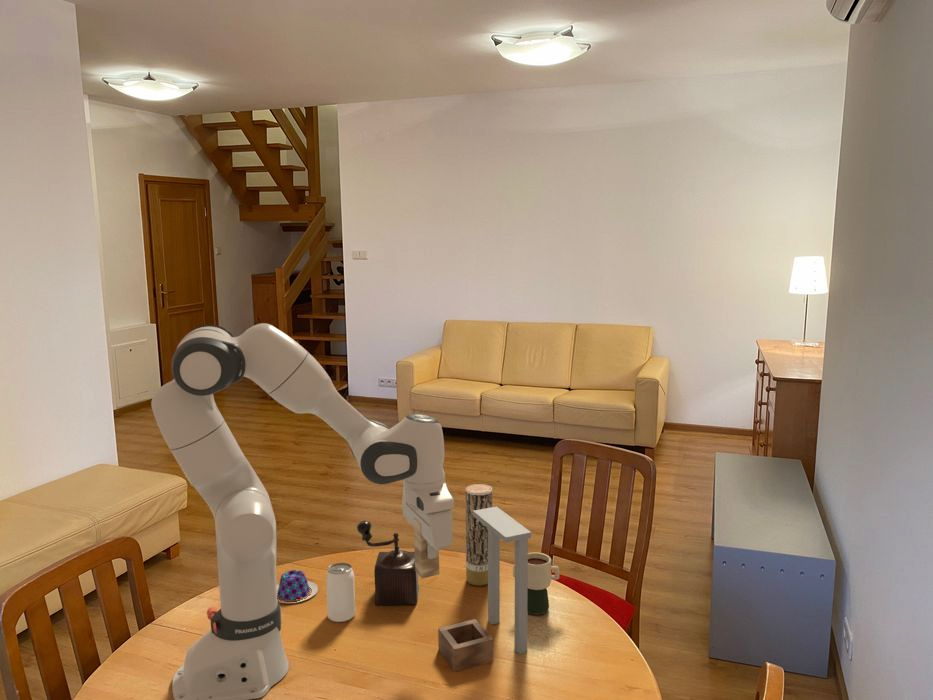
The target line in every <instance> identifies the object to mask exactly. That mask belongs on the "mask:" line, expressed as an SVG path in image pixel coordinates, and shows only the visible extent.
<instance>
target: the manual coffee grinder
mask: <svg viewBox="0 0 933 700" xmlns="http://www.w3.org/2000/svg"><path fill="white" fill-rule="evenodd" d="M372 528H373V526H372V523H371V521H369V520H362V521H360V522H359V523H358V524H357V525H356V530H357V533H359V534H360V535H361V540H362V541H365V544H366V545H367V546H369V547H372V548H373V547H383V546H390V545H391V544H393V543H394V549H393V550H390V551H379V552H378V554H377V558H376V561H375V564H374V572H373V573H374V593H375V594H374V605H375V606H378V607H397V606H398V607H399V606H400V607H402V605H406V606H417V604H418V599H419V593H418V592H419V591H420V586H419V585H420V584H419V574H418V573H417V572H416V571H415V551H406V550H402V549H401V550H400V547H399V540H400V538H399V533H398V532H394V533H393V535H392V536H393V538H392V539H391V540H387V541H380V542H371V539H372V538H373V534H372V533H371V529H372Z"/></svg>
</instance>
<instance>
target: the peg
mask: <svg viewBox="0 0 933 700" xmlns="http://www.w3.org/2000/svg"><path fill="white" fill-rule="evenodd" d="M413 520H414V527H413V543H414V544H413V545H414V552H415V571H416V572H417V573H418V577H420V578H421V579H425V578H431V577H434V576H439V575H440V549H438V550H436V558H433V559H429V558H428V557H427V556H426V549H427V548H428V544H427V541H426V540H425V539H424V538H423V536H422V535H421V524H420V523H419V522H418V521H417V520H416V519H415V518H413Z"/></svg>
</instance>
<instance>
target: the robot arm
mask: <svg viewBox="0 0 933 700" xmlns="http://www.w3.org/2000/svg"><path fill="white" fill-rule="evenodd" d="M170 365H171V366H170V367H171V374H172V376H173V379H172V380H170V381H169V382H166V383H165V384H163V385H162V386H160V387H159V388H158V389H157V390H156V392H155V393H154V394H153V396H152V399H151V403H150V404H151V410H152V414H153V415H154V416H153V417H154V418H155V419H154V420H155V421H156V424H157V427H158V429H159V431H160V433H161V436H162V438H163V441H165V443H166V445H167V447H168V449H169V451H170V452H171V453H172V455H173V457H174V459H175V461H176V462H177V464H178V465H179V468H180V469H181V470H182V471H181V472H183V474H184V475H185V477H186V479H187V481H188V483H189V484H190V485H191V486H192V487H193V488H194V489H195V491H197V492H198V494H199V495H200V497H201V498H202V499H203V500H204V502H205V503H206V505H207V506H208V508H209V509H210V511H211V514H212V515H213V520H214V524H215V540H216V555H217V570H218V571H217V572H218V585H219V586H218V587H219V588H218V589H219V602H220V605H219V606H220V608H219V610H218V609H217V608H216V607H215V606H210V607H209V608H208V609H207V610H206V615H207V616H206V617H207V619H208V620H209V621H210V629H209V630H208V631H206V633H204V634H203V635H202V636H201V637H200V638H199V639H197V640H196V641H195V642H194V643H193V644H191V645H190V647H189V648H188V650H187V652H186V655H185V658H184V662H183V663H184V664H183V665H181V666H180V667H179V668H178V669H177V670H176V672H175V673H174V675H173V677H172V684H171V691H172V697H173V700H253V699H254V700H255V699H260V698H263V697H265V695H266V694H267V693H268V692H269V691H270V689H271V688H272V687H273V686H274V685H276V684H277V683H278V682H280V681H281V680H282V679H283V678H284V677H285V676H286V675H287V673H288V672H289V668H290V662H289V660H288V657H287V654H286V652H285V649H284V648H285V647H284V644H283V640H282V633H281V630H282V610H281V609H282V608H281V603H279V601H278V599H279V598H278V597H277V596H278V594H277V593H278V592H277V585H278V583H277V582H278V581H277V522H276V521H277V520H276V516H275V513H274V509H273V506H272V502H271V498H270V496H269V492H268V491H267V489H266V488H265V486H264V484H263V483H262V481H261V479H260V477H259V476H258V474H257V473H256V471H255V470H254V468H253V467H252V465H251V463H250V462H249V460H248V459H247V457H246V456H245V454H244V453H243V451H242V449H241V447H240V445H239V444H238V441H237V440H236V438H235V436H234V435H233V433H232V431H231V429H230V428H229V426H228V424H227V422H226V420H225V418H224V417H223V415H222V413H221V412H220V410H219V408H218V406H217V403H216V401H215V397H214V394H216V393H219V392H220V391H222V390H224V389H226V388H228V387H230V386H232V385H234V384H236V383H238V382H239V381H241V380H242V379H243V378H247V379H249V380H251V381H252V382H254V383H255V384H256V385H258V386H259V387H260V389H262V390H263V391H264V392H265V393H266V394H268V395H269V396H270V397H271V398H272V399H273V400H274V401H276V402H277V403H278V404H279V405H281V406H283V407H285V408H286V409H288V410H289V411H291V412H293V413H295V414H302V415H303V414H311V415H314V416H316V417H318V418H320V419H321V420H323V422H325V424H327V425H328V426H329V427H331V428H332V429H333V431H335V432H336V433H337V434H338V435H339V436H341V437H342V438H343V439H344V440H345V441H346V442H347V444H348V446H349V449H350V452H351V454H352V457H353V458H354V459H355V460H356V462H357V465H358V467H359V468H360V471H361V472H362V474H363V476H364V477H365V478H366V479H367V480H368V481H370V482H371V483H374V484H375V485H386V484H387V485H388V484H391V483H396V482H399V481H402V483H403V485H402V488H403V489H402V503H401V505H402V509H401V510H402V516H403V518H404V519H405V520H406V521H407V522H408V523H409V524H410V525H411V526H412V527H413V528H414V520H413V518H415V519H416V520H417V521H418V522H419V523H420V524H421V535H422V536H423V538H424V539H425V540H426V541H427V544H428V548H427V549H426V556H427V557H428V558H429V559H433V558H436V550H438V549H439V550H443V549H446V548H450V547H451V545H452V542H453V534H454V533H453V532H454V529H453V528H454V527H453V526H454V525H453V524H454V522H453V513H452V509H454V507H455V501H454V498H453V496H452V494H451V493H450V491H449V489H448V485H447V483H446V473H445V469H444V460H445V456H446V455H445V440H444V433H443V428H442V424H441V423H440V422H439V420H437V419H436V418H434V417H433V416H430V415H427V414H422V413H421V414H420V413H412V414H407V415H405V416H404V417H403V419H402V420H401V421H399V422H398V423H396V424H395V425H394V426H391V427H390V426H388V425H386V424H385V423H382V422H381V421H377V420H374V419H371V418H369V417H366V416H365V415H364V414H362V413H361V412H360V411H359V410H357V409H356V407H354V406H353V405H352V404H351V403H350V402H349V401H348V400H347V399H345V398H344V397H343V396H342V395H341V394H340V393H339V392H338V391H337V388H336V387H335V385H334V383H333V381H332V379H331V377H330V376H329V374H328V373H327V372H326V370H325V368H323V366H322V365H321V364H320V362H319V361H317V359H316V358H315V357H314V356H313V355H312V354H310V352H309V351H308V350H306V349H305V348H304V347H303V346H302V344H301V345H300V344H299V343H298V342H297V341H296V340H295V339H293V338H292V337H290V336H289V335H288V334H286V333H285V332H284V331H282V330H280V329H279V328H277V327H275V326H274V325H272V324H269V323H267V322H266V323H262V322H261V323H257V324H255V325H252V326H251V327H249V328H247V329H246V330H244V332H243V333H242V334H240V335H238V336H234V335H233V334H232V333H231V332H230V331H229V330H228V329H226V328H224V327H222V326H220V325H216V324H202V325H199V326H196V327H195V328H193V329H191V330H190V331H189V332H188V333H187V334H186V335H184V337H183V338H182V339H181V340H180V341H179V343H178V345H177V347H176V349H175V351H174V353H173V354H172V358H171V363H170ZM277 598H278V599H277Z"/></svg>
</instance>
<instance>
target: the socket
mask: <svg viewBox="0 0 933 700" xmlns="http://www.w3.org/2000/svg"><path fill="white" fill-rule="evenodd" d="M437 632H438V633H437V634H438V636H437V639H438V640H437V641H438V644H437V645H438V651H439V652H440V654H441V655H442V656H443V658H444V659H445V661H446V662H447V663H448V665H449V666H450V668H451V669H452V671H454V672H456V673H457V672H458V671H462V670H466V669H470V668H473V667H477V666H481V665H484V664H489V663H491V662H494V639H493V638H492V636H491V635H490V633H488V631H486V630H485V628H484V627H483V626H482V625H481V623H479V622H478V620H477V619H476V618H474V619H469V620H465V621H461V622H458V623H453V624H450V625H446V626H445V625H444V626H441V627H438V630H437Z"/></svg>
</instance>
